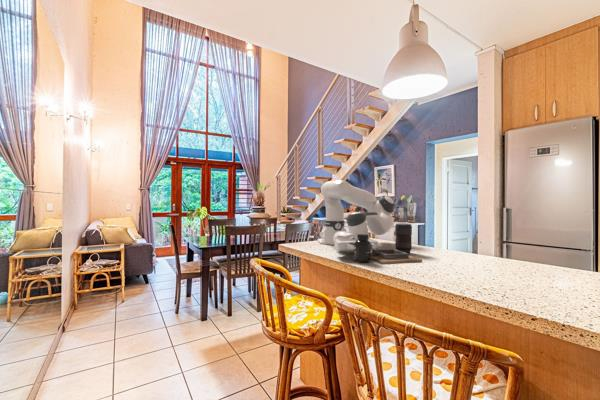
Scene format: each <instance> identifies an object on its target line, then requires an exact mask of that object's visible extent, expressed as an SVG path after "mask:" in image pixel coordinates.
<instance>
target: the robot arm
mask: <svg viewBox="0 0 600 400" xmlns="http://www.w3.org/2000/svg"><path fill="white" fill-rule="evenodd" d="M320 192H321V195H322V197H323V200H324V205H325V221H324V227H323V229H322V230H321V232H319V233H318V234H319V238H317V241H318V243H319V244H323V245H330V246H331V245H334V250H335V251H343V252H344V251H345V252H349V253H355V250H356V246H355V241H356V240H358V239H357V235H358V234H367V235H368V238H369V239H368V241H370V243H371V249H370V250H378V248H379V242H378V240H375V239H371V238H370V235H369V232H370V233H372V234H373V235H375V236H382V235H385V234H387V233H388V232H390V230H392V228H393V227H394V225H395V220H394V218H393V217H392V213H394V209H395V206H396V205H395V204H396V203H395V201H394V199H393V198H391V197H390V196H388V195H381V196H380V197H379V198H378V200H377V196H376V195H375V194H374V193H372V192H370V191H367V190H365V189H362V188H360V187H356V186H354V185H352V184H350V183H349V182H348V181H346V180H341V179H337V180H329V181H326V182H324V183H323V184H322V185H321V187H320ZM341 200H342V201H344V202H346V203H348V204H351V205H354V206H356V207H360V208H363V209H365V211H364V212H361V211H354V212H350V213H349V214H348V215H347V217H346V223H347V227H348V231H347V229H346V228H345V225H346V224H345V220H344V217H345V215H344V214H345V211H344V210H345V208H344V206H343V204H342V201H341Z"/></svg>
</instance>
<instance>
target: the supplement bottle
mask: <svg viewBox="0 0 600 400" xmlns="http://www.w3.org/2000/svg"><path fill="white" fill-rule="evenodd" d="M357 239H358V240H356V241H355V246H356V250H355V252H354V261H355V262H356V263H360V264H368V263H370V262H371V259H370V252H371V250H372V249H371V243H370V241H368V239H370V237H369V238H368V235H367V234H358V235H357Z"/></svg>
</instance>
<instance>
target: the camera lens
mask: <svg viewBox="0 0 600 400" xmlns="http://www.w3.org/2000/svg"><path fill="white" fill-rule="evenodd" d="M394 231H395V233H394V234H395V242H394V243H395V244H394V245H395V246H394V247H395V250H399V251H402V252H405V253H408V254H409V255H410V254H411V251H412V235H413V226H412V224H411V223H395V228H394Z"/></svg>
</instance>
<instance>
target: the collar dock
mask: <svg viewBox="0 0 600 400" xmlns="http://www.w3.org/2000/svg"><path fill="white" fill-rule="evenodd" d="M370 260H372V261H374V262H376V263H379V264H381V265H387V264H388V265H389V264H407V263H422V262H423V259H421V258H419V257H415V256H412V255H410V254H408V253H405V252H402V251H399V250H396V248H395V249H394V248H389V249H388V248H387V249H371V251H370Z"/></svg>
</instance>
